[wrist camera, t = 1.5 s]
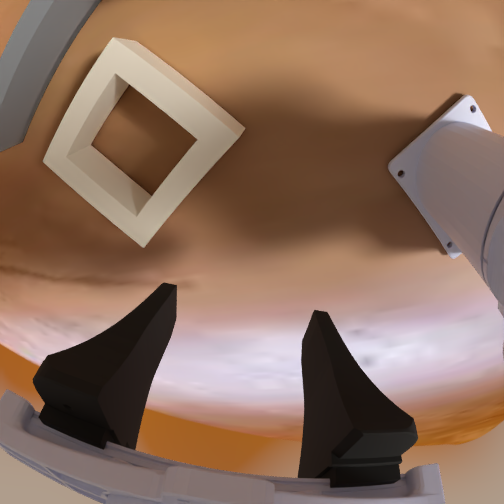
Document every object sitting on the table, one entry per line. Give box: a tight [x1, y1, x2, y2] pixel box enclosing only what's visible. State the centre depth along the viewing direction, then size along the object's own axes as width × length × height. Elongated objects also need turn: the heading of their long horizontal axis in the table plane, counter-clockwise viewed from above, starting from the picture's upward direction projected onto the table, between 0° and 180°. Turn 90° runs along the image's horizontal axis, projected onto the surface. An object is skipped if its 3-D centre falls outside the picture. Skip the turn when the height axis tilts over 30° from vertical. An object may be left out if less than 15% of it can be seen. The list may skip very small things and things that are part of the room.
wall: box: [0, 0, 101, 152], centre depth 13 cm, size 4×14×4 cm, turn 137°
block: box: [43, 37, 246, 248], centre depth 17 cm, size 9×9×3 cm
